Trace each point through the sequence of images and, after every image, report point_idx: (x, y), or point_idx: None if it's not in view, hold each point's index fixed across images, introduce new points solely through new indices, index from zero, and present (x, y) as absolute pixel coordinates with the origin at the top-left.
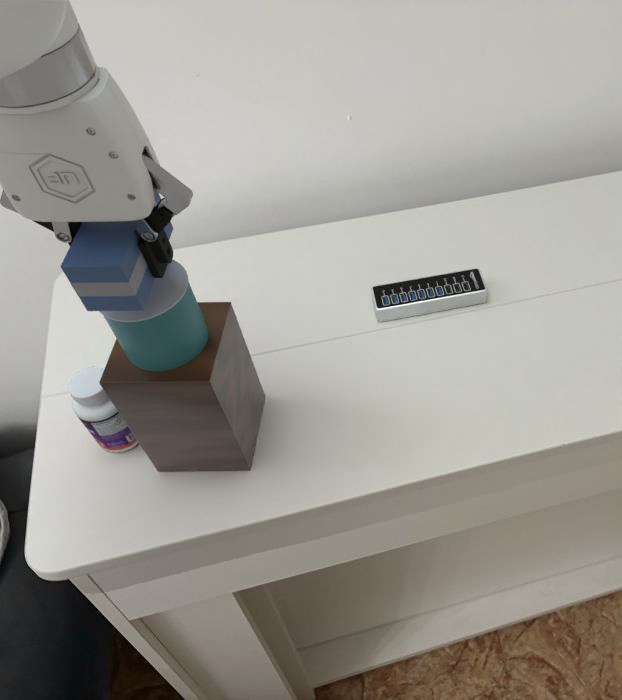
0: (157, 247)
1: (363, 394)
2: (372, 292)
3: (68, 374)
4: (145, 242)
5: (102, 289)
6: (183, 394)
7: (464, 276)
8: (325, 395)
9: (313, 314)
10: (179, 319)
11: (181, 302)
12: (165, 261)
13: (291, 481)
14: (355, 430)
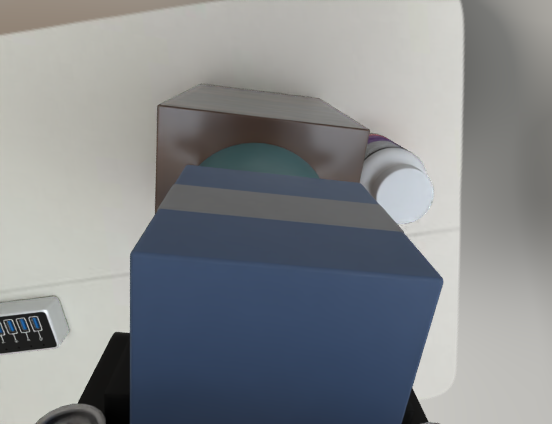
0: (104, 383)
1: (62, 185)
2: (56, 338)
3: (439, 257)
4: (105, 402)
5: (284, 206)
6: (224, 107)
7: None
8: (114, 190)
9: None
10: None
11: None
12: (119, 337)
13: (143, 58)
14: (65, 129)
